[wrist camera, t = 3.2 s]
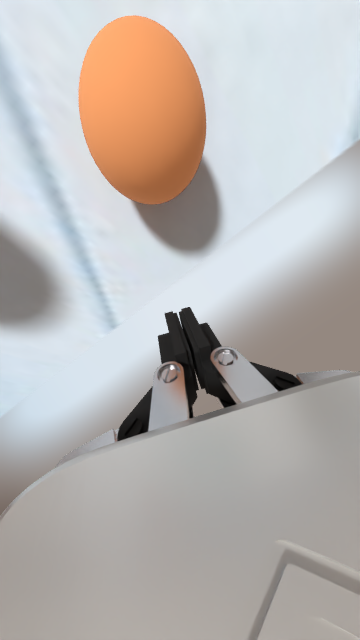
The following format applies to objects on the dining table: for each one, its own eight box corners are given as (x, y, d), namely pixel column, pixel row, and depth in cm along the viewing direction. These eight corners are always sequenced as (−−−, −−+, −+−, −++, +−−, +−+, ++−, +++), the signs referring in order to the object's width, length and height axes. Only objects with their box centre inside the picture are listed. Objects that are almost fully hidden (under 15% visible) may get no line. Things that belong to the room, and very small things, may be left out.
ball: (182, 69, 9) (221, -79, 5) (196, 196, 12) (228, 187, 8) (77, 88, 9) (4, -46, 4) (118, 213, 12) (101, 215, 7)
